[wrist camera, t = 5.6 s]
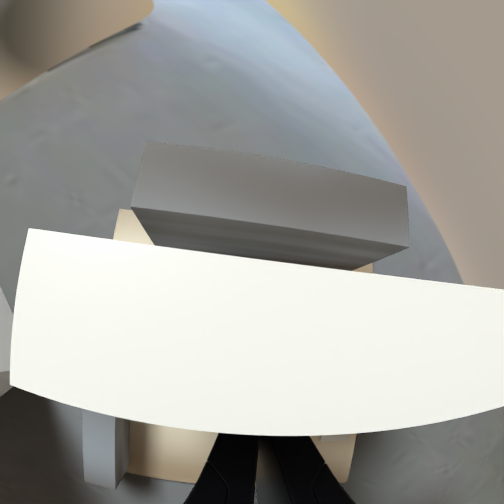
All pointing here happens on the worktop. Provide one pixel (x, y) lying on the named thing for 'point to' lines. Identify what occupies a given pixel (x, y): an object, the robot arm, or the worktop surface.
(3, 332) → the milk
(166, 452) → the gauge bench
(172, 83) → the worktop surface
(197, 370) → the white rectangular slab
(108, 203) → the worktop surface
